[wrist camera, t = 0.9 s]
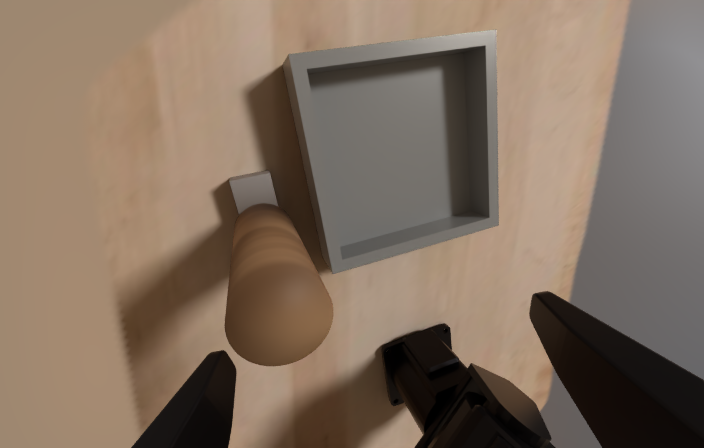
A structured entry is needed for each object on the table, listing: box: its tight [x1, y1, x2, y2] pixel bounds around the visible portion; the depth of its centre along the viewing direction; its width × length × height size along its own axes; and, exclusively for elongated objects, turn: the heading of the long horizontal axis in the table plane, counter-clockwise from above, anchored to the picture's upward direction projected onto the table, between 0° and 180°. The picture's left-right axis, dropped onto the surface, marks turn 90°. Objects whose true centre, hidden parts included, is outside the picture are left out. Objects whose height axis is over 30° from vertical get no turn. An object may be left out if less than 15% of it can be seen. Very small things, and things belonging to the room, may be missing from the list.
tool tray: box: [283, 30, 499, 274], centre depth 22 cm, size 13×13×3 cm
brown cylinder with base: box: [225, 170, 333, 366], centre depth 17 cm, size 7×4×12 cm, turn 10°
